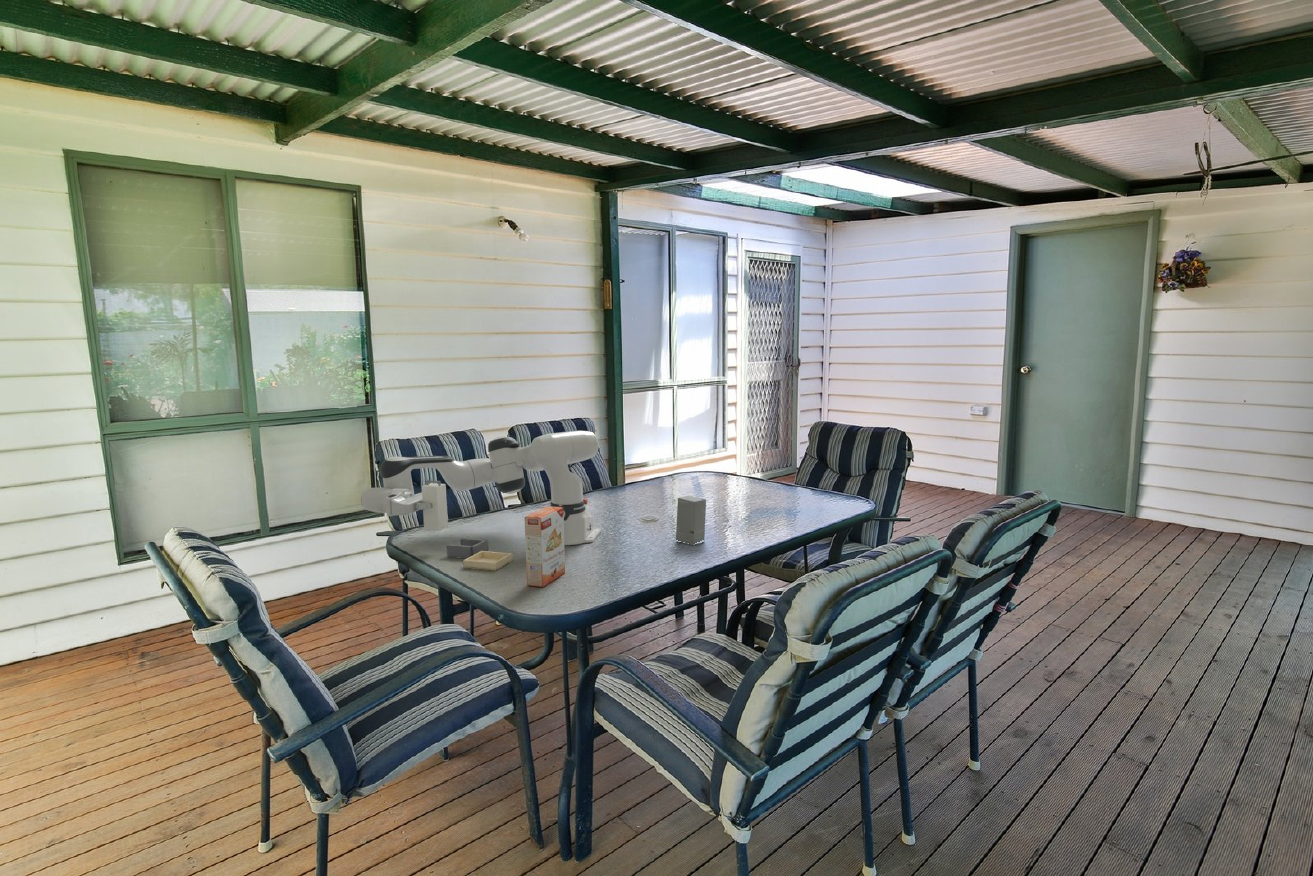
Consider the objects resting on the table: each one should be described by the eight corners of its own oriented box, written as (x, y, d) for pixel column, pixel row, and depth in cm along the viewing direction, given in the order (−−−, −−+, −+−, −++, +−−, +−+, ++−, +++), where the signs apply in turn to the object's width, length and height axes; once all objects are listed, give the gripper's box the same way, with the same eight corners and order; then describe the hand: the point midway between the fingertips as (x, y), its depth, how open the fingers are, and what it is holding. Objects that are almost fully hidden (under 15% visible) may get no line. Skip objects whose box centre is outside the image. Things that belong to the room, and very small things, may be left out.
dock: (462, 549, 245) (462, 538, 244) (488, 551, 241) (487, 540, 241) (447, 556, 236) (446, 545, 236) (473, 559, 233) (473, 547, 232)
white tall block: (433, 525, 244) (430, 478, 242) (448, 527, 243) (445, 479, 240) (424, 529, 240) (421, 481, 237) (439, 530, 238) (436, 482, 235)
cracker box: (544, 588, 204) (541, 517, 201) (526, 586, 206) (522, 516, 203) (566, 573, 217) (564, 506, 214) (549, 571, 219) (546, 505, 216)
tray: (482, 558, 234) (481, 550, 234) (513, 560, 230) (512, 553, 230) (463, 568, 224) (463, 560, 224) (495, 571, 220) (495, 563, 220)
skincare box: (675, 542, 248) (674, 497, 246) (688, 537, 253) (688, 494, 251) (694, 546, 242) (693, 501, 240) (707, 541, 248) (706, 497, 245)
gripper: (422, 503, 254) (455, 505, 250) (383, 517, 235) (418, 520, 231) (421, 486, 253) (454, 488, 249) (382, 499, 234) (417, 501, 230)
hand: (437, 503), depth 240 cm, fingers closed on white tall block, 5 cm apart
